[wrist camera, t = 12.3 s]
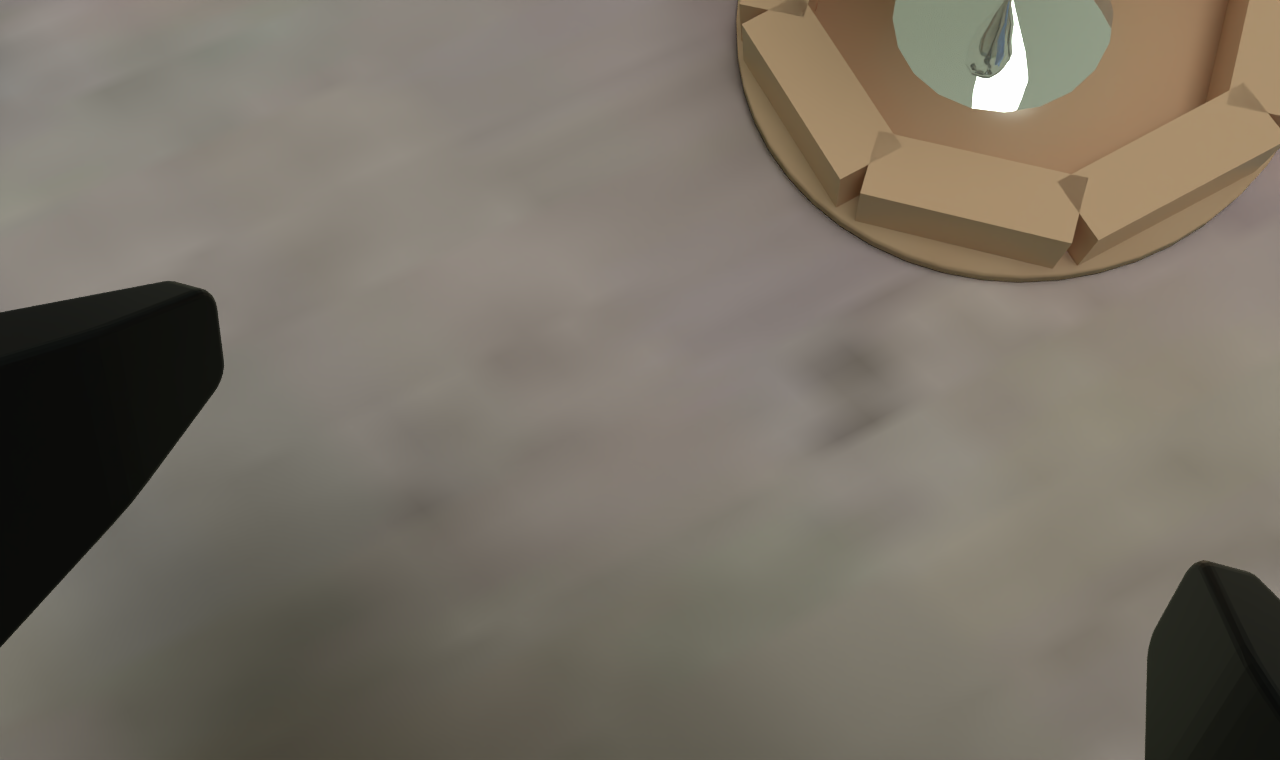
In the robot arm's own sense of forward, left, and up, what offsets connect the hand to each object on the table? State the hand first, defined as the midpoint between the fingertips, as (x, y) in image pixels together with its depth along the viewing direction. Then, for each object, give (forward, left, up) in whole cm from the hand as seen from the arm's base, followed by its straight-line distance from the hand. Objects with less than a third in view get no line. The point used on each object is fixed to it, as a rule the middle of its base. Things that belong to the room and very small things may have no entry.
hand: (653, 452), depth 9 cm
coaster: (+8, -12, -14) cm, 20 cm away
